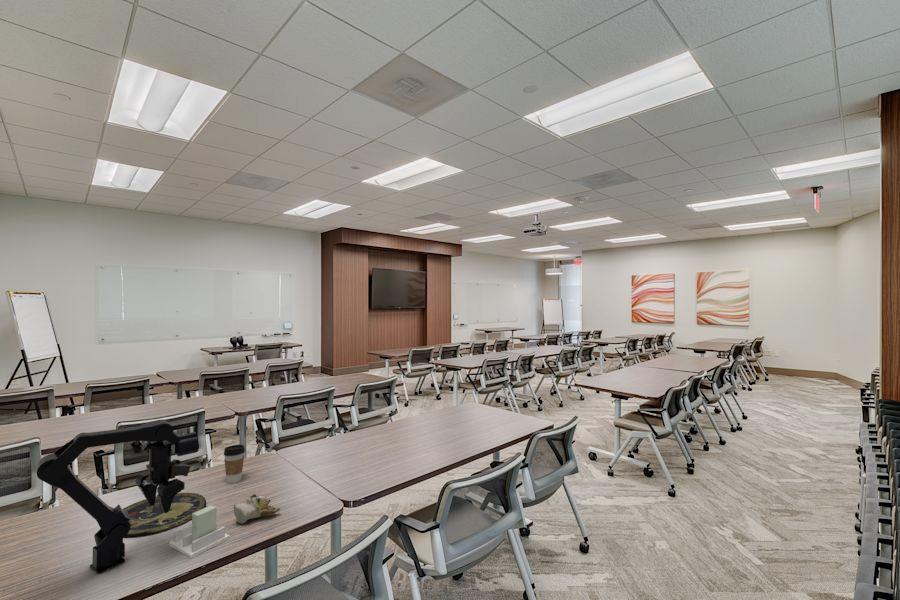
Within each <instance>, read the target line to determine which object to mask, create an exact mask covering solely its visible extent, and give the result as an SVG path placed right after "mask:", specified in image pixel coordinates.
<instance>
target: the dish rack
mask: <svg viewBox="0 0 900 600" xmlns="http://www.w3.org/2000/svg"><path fill="white" fill-rule="evenodd" d="M173 539H174V540H172V541H170V542H168V543H169V547H171V548H172V549H173V550H176V551H178V552H180V553H181V554H183V555H185V556H186V557H188V558H189V559H193V558H194V557H196V556H199V555H200V554H202V553H205V552H206V551H208V550H210V549H212V548H214V547H216V546H218V545H220V544H222V543H225V542H226V541H227V540H229V539H230V535H229V534H227V533H226V527H225V526H222V527H219V528H218V529H217V528H216V530H215V531H213V532H211V533H209V534H207V535H205V536H203V537H201V538H199V539H197V540H195V541H193V542H192V524H190V525H188V526H185V527H183V528H180V529H178V530H177V531H174V534H173ZM225 540H226V541H225Z"/></svg>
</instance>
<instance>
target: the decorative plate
mask: <svg viewBox="0 0 900 600" xmlns="http://www.w3.org/2000/svg"><path fill="white" fill-rule="evenodd" d="M206 507H207V499H206V498H205V496H204V495H202V494H199V493H195V492H178V493H177V494H176V495H175V497H174V499H173V502H172V504H171V507H170V510H169V512H167V513H164V511H163V509H162V506H161V504H160V501H159V499H158V496H157V495H156V499H155V504H154V505H152V506H150V505H149V503H148V501H147V500H146V498H145V499H142V500H139V501H137V502H135V503H133V504H130V505H128V506H126V507H124V508H122V509H123V510H124V511H127V512H128V514H129V517H130V519H131V520H130V521H129V522H130V524H131V528H130V531H129V532H128V534H127V535H126V536H124V538H123V539H137V538H144V537H149V536H155V535H158V534H160V533H165V532H168V531H171V530H173V529H176V528H178V527H181V526H184V525H186V524H187V523H189V522H190V521H192V513H194V512H197V511H199V510H201V509H204V508H206Z"/></svg>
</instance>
